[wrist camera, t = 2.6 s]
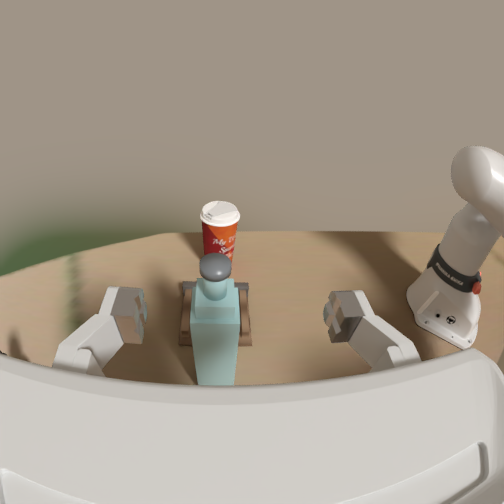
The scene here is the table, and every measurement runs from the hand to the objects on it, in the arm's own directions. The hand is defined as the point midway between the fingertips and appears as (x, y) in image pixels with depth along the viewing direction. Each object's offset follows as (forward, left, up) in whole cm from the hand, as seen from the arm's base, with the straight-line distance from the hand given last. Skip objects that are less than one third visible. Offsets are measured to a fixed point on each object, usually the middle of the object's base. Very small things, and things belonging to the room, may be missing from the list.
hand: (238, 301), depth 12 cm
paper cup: (+31, -24, -33) cm, 51 cm away
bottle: (+10, -7, -33) cm, 35 cm away
